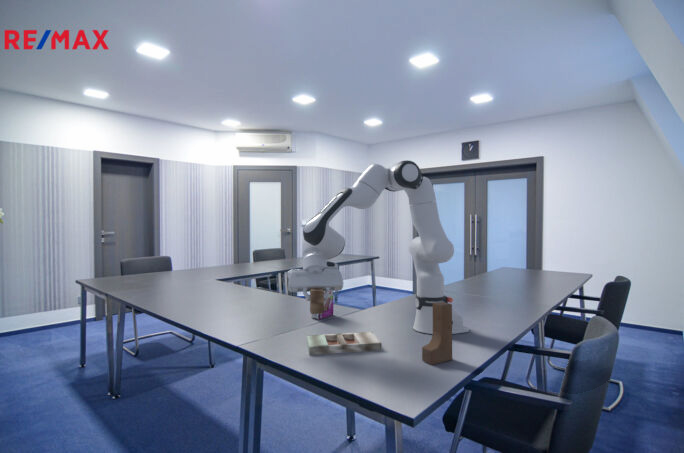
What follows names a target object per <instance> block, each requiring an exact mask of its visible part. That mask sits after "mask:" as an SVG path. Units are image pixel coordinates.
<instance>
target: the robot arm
mask: <svg viewBox="0 0 684 453" xmlns="http://www.w3.org/2000/svg"><path fill="white" fill-rule="evenodd" d="M384 190H386V191H388V192H389V191H390V192H393V193H394V192H400V191H404V192H405V193H406V196H407V198H408V204H409V211H410V217H411V223H412V226H413V227H414V228H415V230H416V232H417V235H418V236H416V237H414V238H413V239H412V240H410V242H409V245H408V251H409V253H410V255H411V257H412V261H413V266H414V270H415V276H416V294H415V318H414V322H413V323H414V324H413V326H412V328H413V330H414V331H416V332H420V333H424V334H430V335H433V303H437V302H445V303H449V304H451V303H452V302H453V297H450V296H446V295H445V277H444V274H443V273H442V271H441V268H440V265H439V264H444V263H447V262H449V261H450V260H451V259H452V258H453V257H454V253H455V246H454V245H453V243H452V241H451V240H450V239H449V238H448V237H447V234H446V233H445V231H444V228H443V226H442V222H441V220H440V216H439V210H438V204H437V197H436V193H435V190H434V187H433V184H432V182H431V180H430V178H428V177H427V176H424V174H423V173H422V171H421V169H420V167H419V165H417V163H416V162H415V161H412V160H401V161H399V162H395V163H394V164H392V165H391V166H389V167H387V168H386V167H385V166H383V165H382V164H378V163H373V164H372V163H371V165H370V164H369V166H368V167H367V168H365V169H364V171H363V172H362V173H361V174H360V175H359V177H358V178H357V179H356V181H355V182H354V183H353V185H351V186H349V187H344V188H342V189H341V190H339V191H338V192H337V193H336V194H335V195H334V196H333V197H332V198H331V199H330V200H329V201H328V202H327V203H326V204H325V205H324V206H323V207H322V209H320V210H319V211H318V213H317V214H316V215H315V216H313V217H312V218H310V219H309V220H308V221H307V222H306V223H305V225H304V226H303V230H302V236H303V241H302V245H301V256H302V258H303V260H302V268H297V269H295V268H292V269H290V270H288V271H286V272H287V273H286V278H287V279H288V280H287V281H288V282H287V284H288V285H287V290H288V292H289V293H302V295H303V296H304V297H305V299H306V302H310V301H311V295H310V294H309V293H310V289H315V288H323V290H324V291H325V293H326V294H324V301H326V300H327V296H328V294H329V291H334V292H335V291H336V292H340V291H342V290H343V288H344V280H343V279H344V278H343V275H342V273H341V271H340V270H339V266H338V265H339V264H338V263H337V262H334V261H330V260H331V259H333V258H335V257H338V256H339V255H340V254H342V253H343V251H344V249H345V246H346V240H345V237H344V236H342V234H340V233H339V232H338V231H336V230H335V229H334V228H332V227H331V226H330V225H329V224H330V222H331V221H332V220H333V219H334V217H335V216H336V215H337V214H338V213H339V212H341V210H342V209H343V208H345V207H352V208H355V209H358V210H367V209H370V208H371V207H372V206H374V204H375V203H376V202H377V200H378V199H379V197H380V196H381V194H382V192H383V191H384ZM308 292H309V293H308ZM468 332H470V329H469V326H467V324H466V325H465V324H464V321H463V317H462V315H461V313H459V311H457V310H456V309H455V308H454V307H452V335H455V334H456V335H457V334H461V333H462V334H463V333H468Z"/></svg>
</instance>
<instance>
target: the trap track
mask: <svg viewBox="0 0 684 453" xmlns="http://www.w3.org/2000/svg"><path fill="white" fill-rule="evenodd" d="M306 345H307V349H308V355H309V356H316V355H327V354H328V355H330V354H345V353H360V352H361V351H362V352H376V351H382V342H381V341H380V339H379V338H378V337H377V336H376V334H374V332H373V331H365V332H364V331H363V332H343V333H331V334H330V333H329V334H327V333H326V334H308V335H306Z"/></svg>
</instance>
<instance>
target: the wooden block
mask: <svg viewBox="0 0 684 453" xmlns="http://www.w3.org/2000/svg"><path fill="white" fill-rule="evenodd" d="M452 308H453V305H452V304H451V303H450V302H448V303H445V302H437V303H433V334H431V339H430V341H429V343H428V344H426V345H423V346H421V347H422V348H421V359H422V362H425V363H427V365H431V366H433V365H437V364H441V363H445V362H449V361H452V360H453V334H452Z"/></svg>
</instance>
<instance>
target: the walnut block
mask: <svg viewBox="0 0 684 453" xmlns="http://www.w3.org/2000/svg"><path fill="white" fill-rule="evenodd" d="M309 295H311V301H309V312H310V315H312V314H321V313H324V290H323V288H315V289H310V292H309Z"/></svg>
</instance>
